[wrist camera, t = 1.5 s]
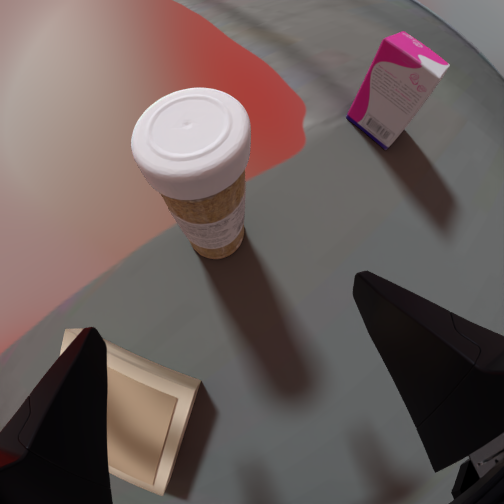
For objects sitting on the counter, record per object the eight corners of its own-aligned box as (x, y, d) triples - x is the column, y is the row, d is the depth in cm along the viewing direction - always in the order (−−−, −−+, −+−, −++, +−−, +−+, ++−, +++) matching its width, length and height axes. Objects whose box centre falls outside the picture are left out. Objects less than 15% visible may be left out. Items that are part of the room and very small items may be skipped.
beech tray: (170, 479, 16) (162, 497, 13) (67, 427, 17) (49, 436, 14) (201, 380, 19) (194, 391, 16) (84, 328, 19) (64, 329, 16)
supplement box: (405, 128, 26) (452, 65, 15) (385, 152, 25) (441, 81, 13) (367, 97, 26) (403, 28, 15) (343, 117, 25) (381, 37, 14)
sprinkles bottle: (203, 199, 22) (169, 75, 9) (253, 219, 22) (270, 99, 9) (179, 248, 21) (105, 157, 8) (231, 270, 21) (216, 196, 8)
